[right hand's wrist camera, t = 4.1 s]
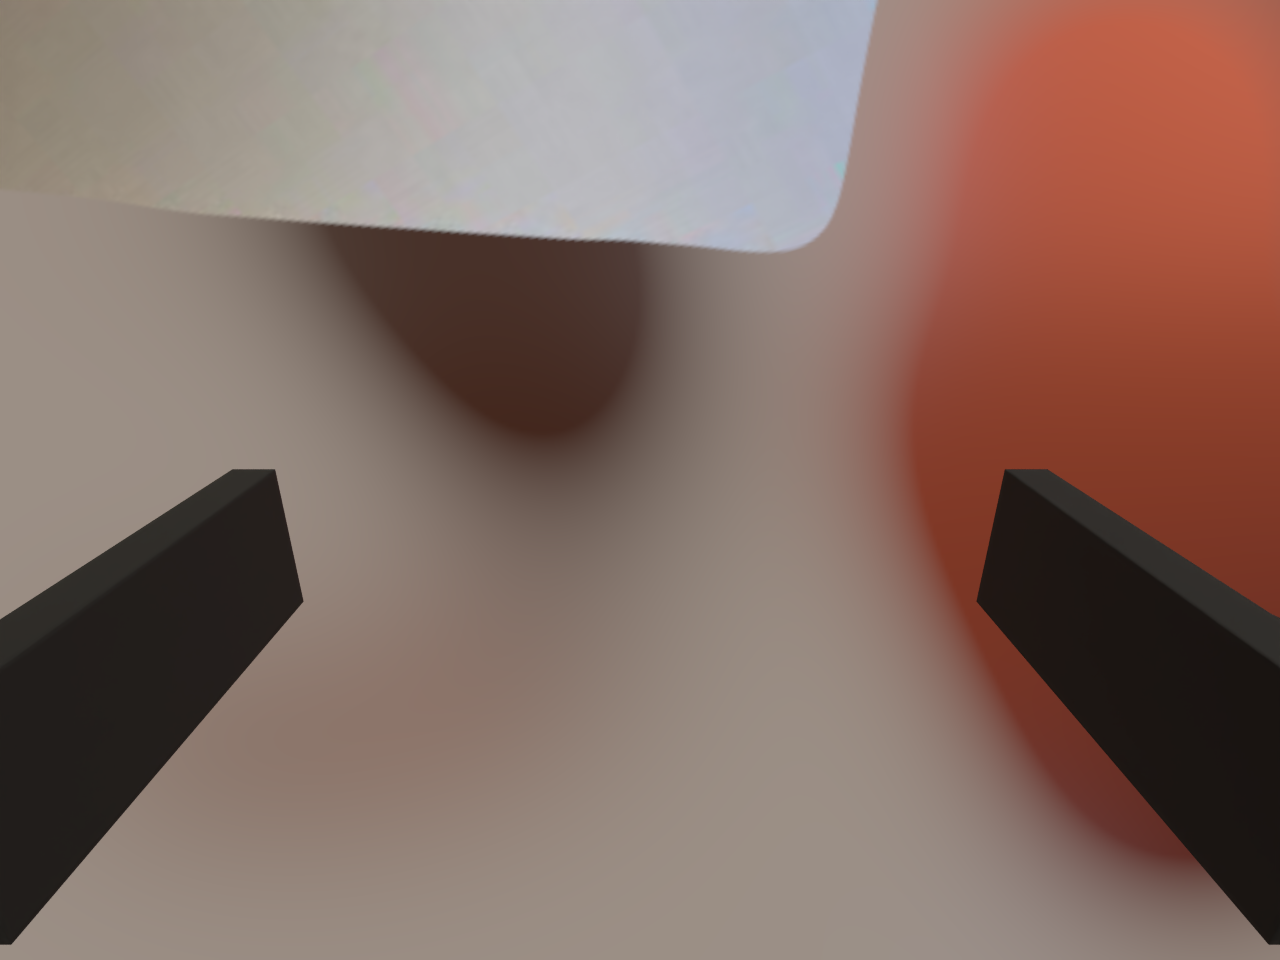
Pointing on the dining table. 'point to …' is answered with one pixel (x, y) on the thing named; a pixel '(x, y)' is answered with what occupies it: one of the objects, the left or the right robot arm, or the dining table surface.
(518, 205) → the dining table surface
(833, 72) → the dining table surface
